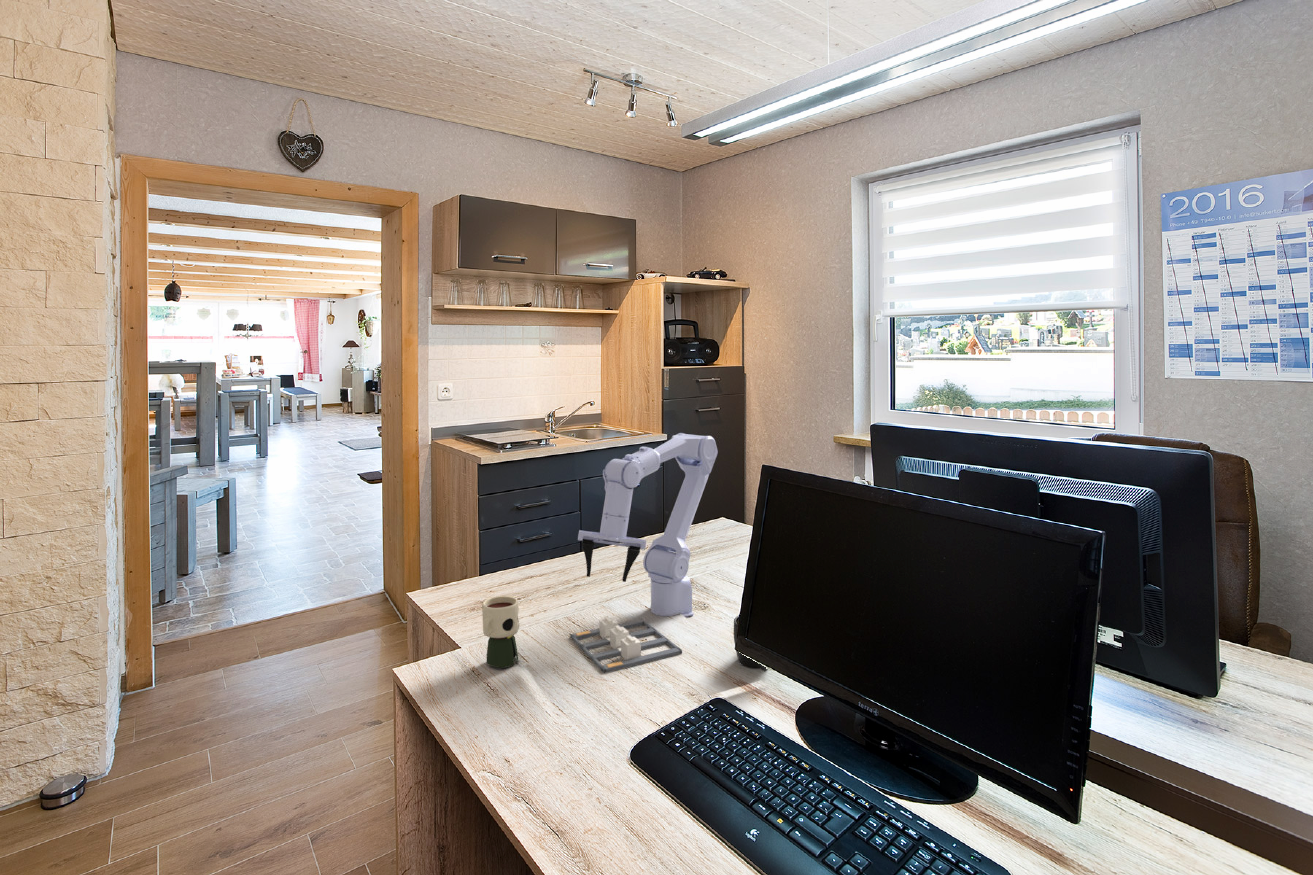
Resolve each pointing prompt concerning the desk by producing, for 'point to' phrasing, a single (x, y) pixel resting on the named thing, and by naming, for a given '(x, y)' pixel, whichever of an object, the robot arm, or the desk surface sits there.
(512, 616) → the character mug
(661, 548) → the robot arm
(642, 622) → the switch bank
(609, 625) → the tab
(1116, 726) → the desk surface
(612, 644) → the tab
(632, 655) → the tab
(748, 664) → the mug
